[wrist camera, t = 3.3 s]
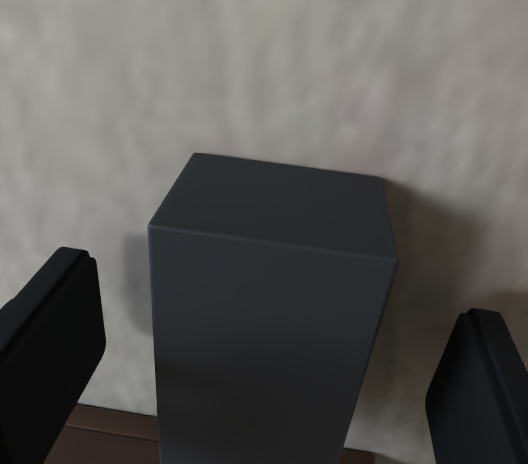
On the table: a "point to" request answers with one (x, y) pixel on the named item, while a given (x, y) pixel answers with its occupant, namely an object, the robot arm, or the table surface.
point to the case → (125, 440)
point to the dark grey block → (265, 309)
